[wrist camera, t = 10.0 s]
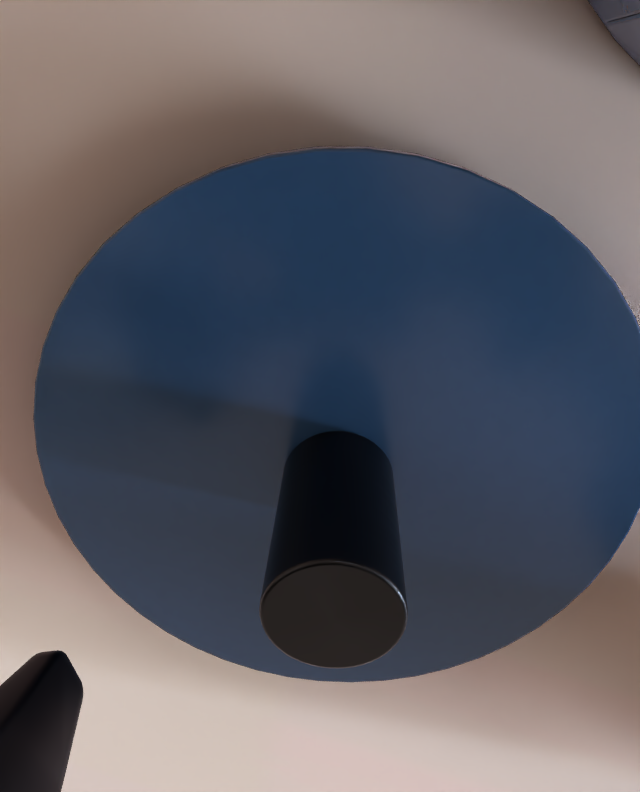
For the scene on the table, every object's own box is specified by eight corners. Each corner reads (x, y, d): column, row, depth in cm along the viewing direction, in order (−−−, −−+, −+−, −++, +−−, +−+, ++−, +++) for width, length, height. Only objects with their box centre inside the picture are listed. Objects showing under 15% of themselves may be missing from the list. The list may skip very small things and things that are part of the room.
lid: (396, 711, 18) (410, 915, 14) (-25, 503, 15) (-182, 675, 11) (771, 387, 13) (997, 546, 8) (235, -26, 10) (140, -121, 6)
